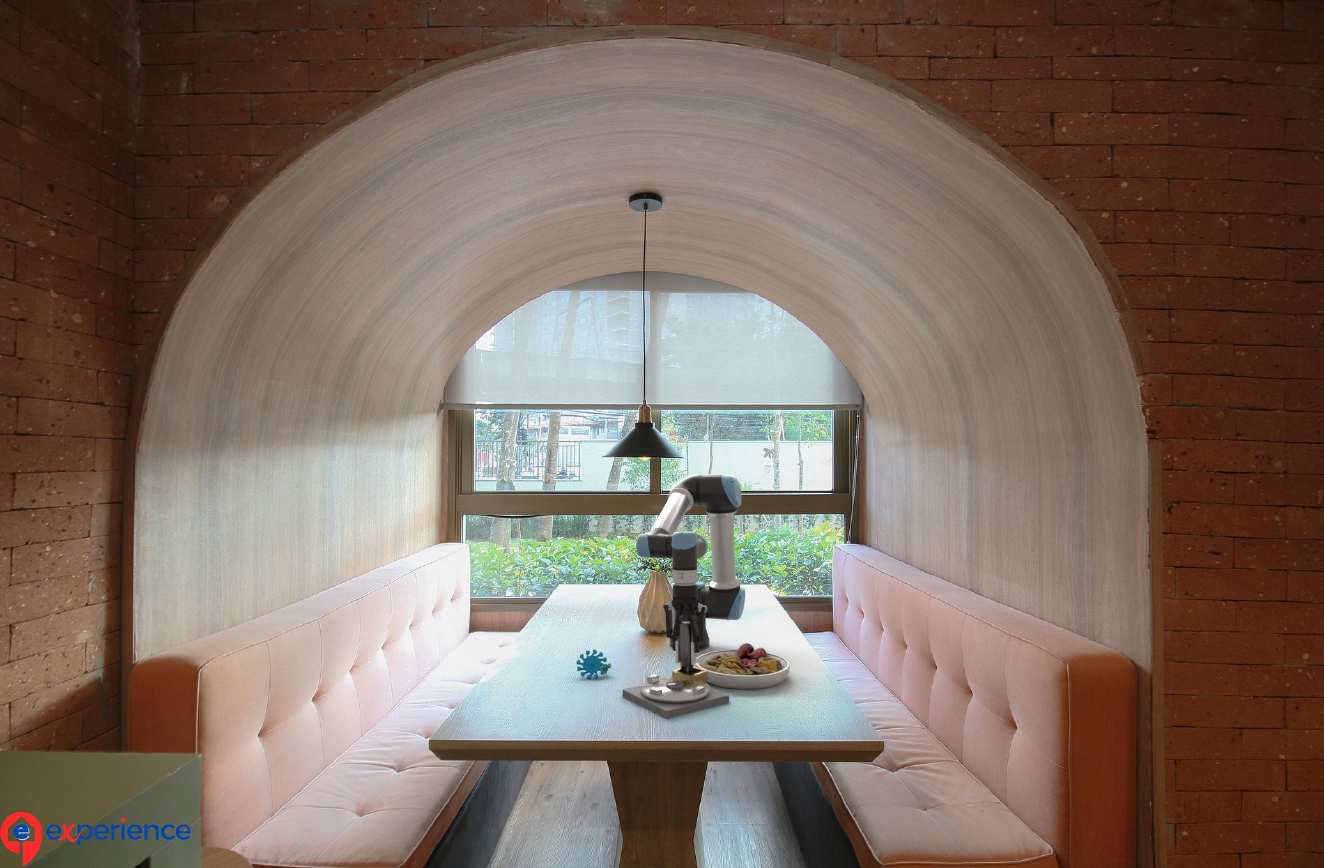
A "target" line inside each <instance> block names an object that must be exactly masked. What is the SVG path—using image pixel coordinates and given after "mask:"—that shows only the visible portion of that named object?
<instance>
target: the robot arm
mask: <svg viewBox="0 0 1324 868" xmlns="http://www.w3.org/2000/svg"><path fill="white" fill-rule="evenodd" d="M741 505H742V489H741V485H740V481H739V479H738V478H737V476H735V474H725V473H724V474H723V473H721V474H720V473H717V474H700V473H699V474H692V475H689V476H688V477H687V476H686V477H685V478H682V479H681V480H679V481H678V482H677V483H676V484H675V485H674V486H673V487H672V488H671V489H670V491H669V492H668V495H667V501H666V504H665V505H664V507H663V509H662V510H661V512H660V514H659V516H658V517H657V519H656V521H655V523H654V524H653V526H652V527H651V530H650V532H649V533H640V534H639V535H638V536H637V538H636V545H635V547H636V548H635V549H636V553H637V555H638V556H639V557H641V558H649V559H672V561H671V562H672V567H671V568H672V569H671V570H672V572H671V573H672V582H673V584H672V600H671V602H668V603H665V604H663V610H664V612H665V635H666V636H665V637H666V638H668V639H669V647H671V648H672V651H673V652H675V664H680V650H679V628H678V626H679V623H680V622H686V621H687V622H690V627H691V631H692V642H691V665H694V666H695V664H696V663H697V657H698V656H697V655H698V653H700V650H705V649H708V648H709V647H710V645H711V644H710V642H711V641H710V640H711V639H710V637H709V633H708V630H707V626H706V625H707V624H706V620H707V619H710V620H711V619H712V620H724V621H738V620H739V619H741V617H742V615H743V613H744V607H745V601H746V589H745V588H743V587H741V582H740V581H739V579H737V577H736V575H737V574H736V553H735V551H736V550H735V530H734V527H735V526H734V525H735V523H734V515H735V514H736V513H737V512H738V508H739V507H741ZM693 507H704V510H705V513H706V514H707V515H708V516H709V526H710V527H709V529H710V545H711V546H710V547H711V548H710V550H711V573H712V577H711V578H712V579H711V580H710V581H709V582H708V586H706V583H705V582H704V581H699V580H698V576H699V575H698V560H699V559H702V558H703V557H704V555H706V554H707V552H708V549H709V544H708V541H707V539H706V538H705V537H704V536H703V535H702V534H697V533H696V532H695V531H692V530H690V531H689V530H680V531H678V528H679V526H680V524H681V522H682V520H683V519H684V517H685V515H686V513H687V512H688V511H689V510H691V509H692V508H693Z"/></svg>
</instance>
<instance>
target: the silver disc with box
mask: <svg viewBox="0 0 1324 868" xmlns="http://www.w3.org/2000/svg"><path fill="white" fill-rule="evenodd" d="M671 674H672V675H670V676H661V677H660V676H659V674H655V673H653V674H650V675H648V676H646V681H643V683H642V684H640V685H641V688H640V692H641V694H642V695H643V696H644V697H646V698H648V699H650V700H654V701H658V702H665V703H686V702H693V701H698V700H701V699H703V698H705V697H707V696H708V695H709V694H710V684H708V682H707V681H708V671H707V670H705V669H701V668H697V667H695V666H694V675H689V674H685V673H681V672H680V667H679V668H676V669H674V670H672V671H671Z"/></svg>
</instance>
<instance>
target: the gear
mask: <svg viewBox="0 0 1324 868" xmlns="http://www.w3.org/2000/svg"><path fill="white" fill-rule="evenodd" d="M590 651H591V650H589V649H588V650H585V655H586V658H584V653H581V654H579V658H580V659H581V660H582V661H583V662H581V660H580V659H577V660H576V662H575V663H576V664H575V665H577V667H576V670H577V672H580V676H581V677H582V678H584V677H585V675H586V679H587V680H591V679H592V675H594V677H593V678H594V679H599V674H598V671H599V672H600V675H601V676H603V675H607V673H608V671H609V669H611V668H612V664H611V663H607V662H608V659H607V657H604V653H603V652H602V651H600V652H599V653H598V651H597V650H596V649H593V650H592V654H591V655H590V653H591V652H590ZM602 662H603V663H602ZM579 665H580V666H579ZM581 666H582V667H581Z"/></svg>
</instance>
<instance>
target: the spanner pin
mask: <svg viewBox="0 0 1324 868" xmlns="http://www.w3.org/2000/svg"><path fill="white" fill-rule="evenodd" d="M678 628H679V650H680V663H679V666H680V667H679V668H680V672H681V673H685V674H689V675H694V667H695V665H691V642H692V631H691V627H690V622H687V621H686V622H680V623H679V626H678Z"/></svg>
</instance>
